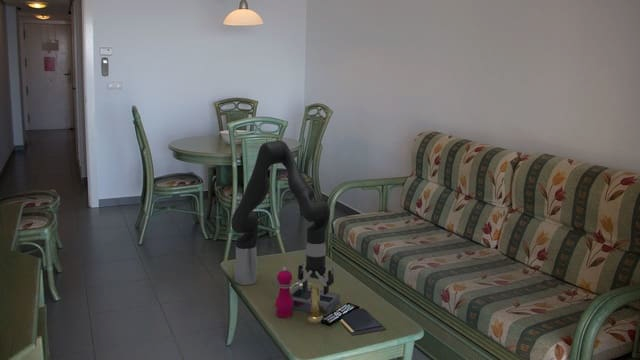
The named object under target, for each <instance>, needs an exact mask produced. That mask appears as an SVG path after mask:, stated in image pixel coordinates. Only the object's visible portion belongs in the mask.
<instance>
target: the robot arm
mask: <svg viewBox="0 0 640 360" xmlns="http://www.w3.org/2000/svg"><path fill="white" fill-rule="evenodd" d="M254 163H255V164H254V167H253V170H252V172H251V173H252V174H251V176H250V178H249V180H248V182H247V185H246V187H245V191H244V193H243V196H242V197H241V199H240V202H239V204H238V205H237V208H236V209H235V211H234V213H233V214H232V218H231V222H230V224H231V225H230V226H231V228H232V230H233V232H234V233H237V234H242V233H243V234H242V235H241V236H239V237H238V238H237V239H236V240H235V261H234V262H233V263H234V264H233V269H234V270H233V271H234V272H233V273H234V279H233V280H234V283H236V284H238V285H241V286H251V285H253V284H256V283H257V281H258V280H257V279H258V277H257V241H258V237H259V236H258V234H259V233H258V232H259V219H258V215H257V213H256V212H255V211H254V210H255V209H257V207H259V206H260V205H261V204H262V203H263V202H264V201H265V199H266V197H267V196H268V193H269V190H270V187H271V185H270V184H271V183H270V180H269V177H268V171H269V169H270V168H271V166H272V165H278V164H282V165H283V166H284V168H285V169H286V171H287V172H286V173H287V183H288V187H289V188H288V189H289V190H290V192H291V193H292V195H293V196H294V197H295V199H296V200H297V203H298V206H299V208H300V212H301V214H302V217H303V218H304V219H305V220H306V221H307V222H309V223H313V224H311V225H310V226H309V227H307V229H306V246H305V247H306V248H305V264H306V265H305V264H304V263H301V264H300V265H298V269H297V280H298V281H299V280H300V281H302V285H301V287H302V288H303V289H304V291H306V290H307V289H308V288H309V287H308V279H309V278H311V279H315V280H319V281H320V282H322V284H323V291H324V295H326V294H327V293H328V292H330V291H329V290H330V288H329V287H330V286H331V285H333V284H334V283H335V281H334V280H335V279H334V268H329V269H328V268H327V267H326V263H327V261H326V257H327V256H326V255H327V254H326V253H327V247H326V230H327V227H328V223H329V220H330V216H331V209H330V206H329V204H328V203H327V202H326V201H324V200H319V201H315V202H313V201H312V200H314V197H315V192H314V190H313V189H312V187H311V186H310V184H309V183H308V181H306V179H305V177H304V175H302V174H303V173H302V172H301V170H300V167H299V165H298V164H297V162H296V160H295V157H294V155H293V154H292V152H291V150H290V147H289V146H288V144H287V143H286V142H285V141H284V140H279V139H278V140H273V141H267V142H263V143H262V144H261V146H260V147H259V150H258V152H257V157H256V160H255V162H254ZM304 271H306V274H305V276H304Z"/></svg>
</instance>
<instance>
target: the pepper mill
mask: <svg viewBox="0 0 640 360" xmlns="http://www.w3.org/2000/svg"><path fill="white" fill-rule="evenodd" d="M276 280H277V281H278V284H277V285H278V288H279V292H278V295H277V296H276V299H275V303H274V304H275V305H274V306H275V308H276V316H278V317H279V318H285V319H286V318H289V317H292V315H293V309H292V307H293V299H292V297H291V289H290V288H291V286H292V283H291V282H292V280H293V275H292V272H290V271H289V270H288V269H287V267H285V266H283V267H282V270H281V271H279V272H278V273H277V276H276Z"/></svg>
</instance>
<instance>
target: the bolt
mask: <svg viewBox="0 0 640 360" xmlns="http://www.w3.org/2000/svg"><path fill="white" fill-rule="evenodd" d="M310 288H311V312H307V314H306V321H307V322H308V323H309V324H320V322H321V320H322V319H323V320H324V315H323V314H322V313H319V304H320V290H321V287H320V285H319V284H318V285H316V284H313V285H311V286H310ZM321 323H322V322H321Z"/></svg>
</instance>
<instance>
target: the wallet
mask: <svg viewBox="0 0 640 360" xmlns="http://www.w3.org/2000/svg"><path fill="white" fill-rule="evenodd" d="M355 309H356V310H354V309H353V310H354V311H352V312H350V313H348V314H346V315H344V316H342V319H341V320H340V321H341V322H342V323H341V324H342V325H343V326H342V325H341V326H342V328H344V329H345V330H346V331H347V332H348V333H349V334H350V335H351V336H352V337H353V336H362V335H365V334H366V335H367V334H371V333H378V332H384V331H386V330H387V328H386V327H385V326H384V325H383V324H382V323H381V322H379V321H378V319H376V318H375V317H374V316H373V315H372V314H371V313H370V312H369V311H368V310H367V309H366V308H363V307H362V308H355Z"/></svg>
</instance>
